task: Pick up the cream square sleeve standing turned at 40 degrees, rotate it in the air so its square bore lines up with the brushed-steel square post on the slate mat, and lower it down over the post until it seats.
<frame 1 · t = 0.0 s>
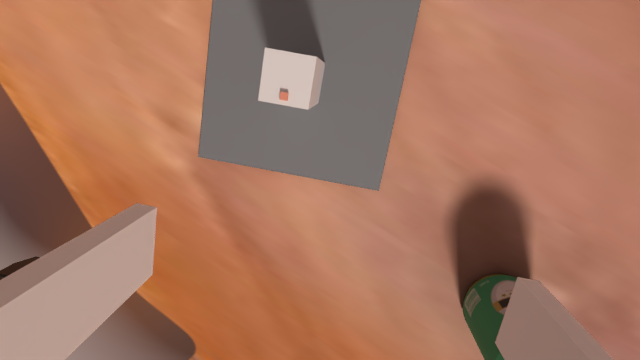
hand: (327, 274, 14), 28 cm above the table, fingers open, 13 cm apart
beverage can: (495, 301, 44), on the table
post: (303, 80, 39), on the table
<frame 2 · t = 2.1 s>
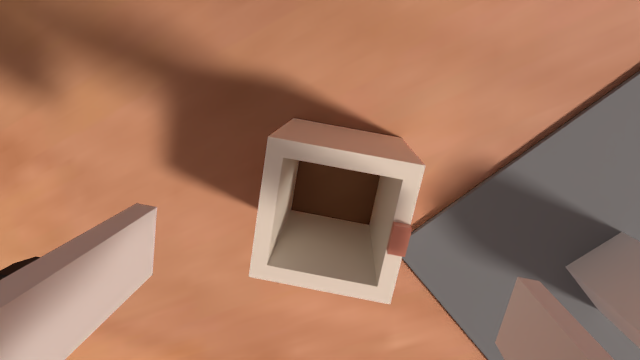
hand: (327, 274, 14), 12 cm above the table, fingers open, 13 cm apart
cream square sleeve: (337, 179, 25), on the table
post: (605, 268, 26), on the table
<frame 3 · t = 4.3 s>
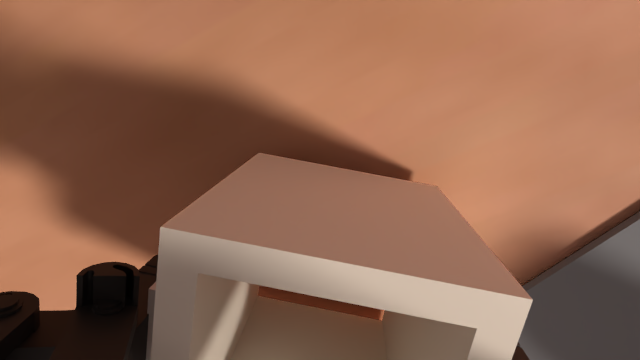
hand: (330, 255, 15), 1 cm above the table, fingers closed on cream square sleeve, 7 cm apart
cream square sleeve: (331, 251, 16), point 1 cm above the table, touching gripper
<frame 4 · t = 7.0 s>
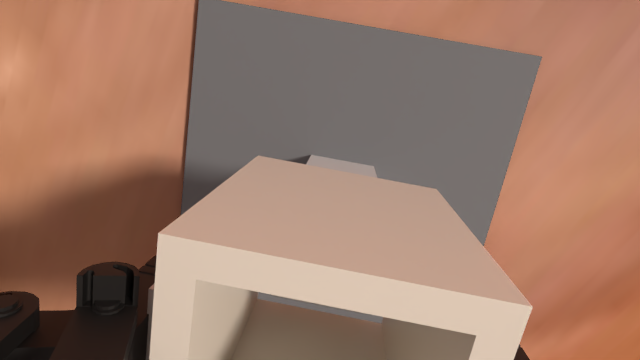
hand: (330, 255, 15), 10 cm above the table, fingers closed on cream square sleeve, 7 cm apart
cream square sleeve: (330, 254, 16), point 10 cm above the table, touching gripper
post: (336, 188, 25), on the table
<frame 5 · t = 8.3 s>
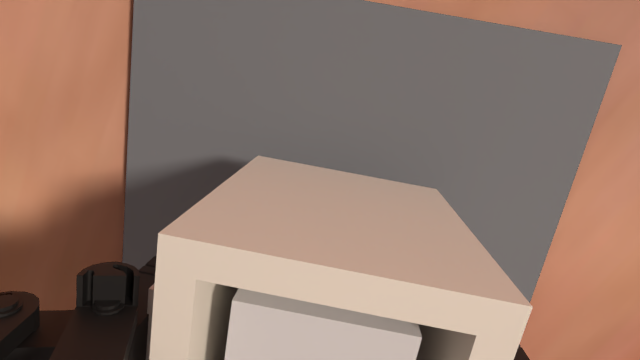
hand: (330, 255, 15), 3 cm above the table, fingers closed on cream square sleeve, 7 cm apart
cream square sleeve: (330, 254, 16), point 3 cm above the table, touching gripper
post: (331, 225, 18), on the table
when the fingers open (2 cm above the table, at t = 9.5 s): cream square sleeve drops 1 cm, resting on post.
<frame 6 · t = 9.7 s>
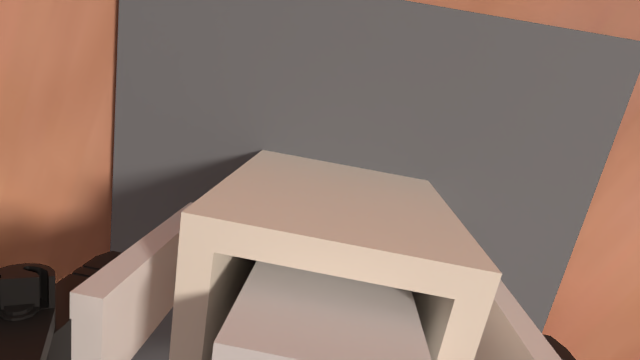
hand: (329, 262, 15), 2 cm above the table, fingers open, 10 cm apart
cream square sleeve: (329, 241, 17), resting on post
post: (332, 237, 17), on the table
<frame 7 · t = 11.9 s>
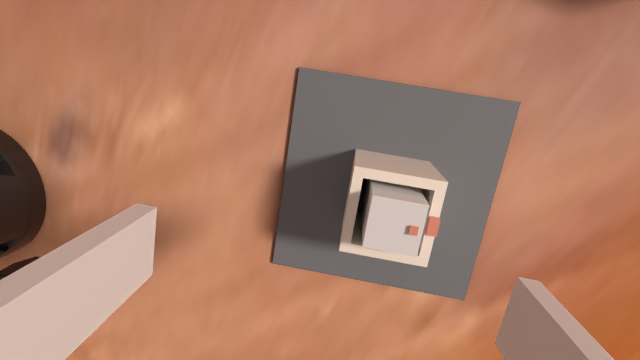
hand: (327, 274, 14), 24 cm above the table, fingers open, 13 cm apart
cream square sleeve: (385, 190, 37), resting on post
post: (385, 188, 37), on the table
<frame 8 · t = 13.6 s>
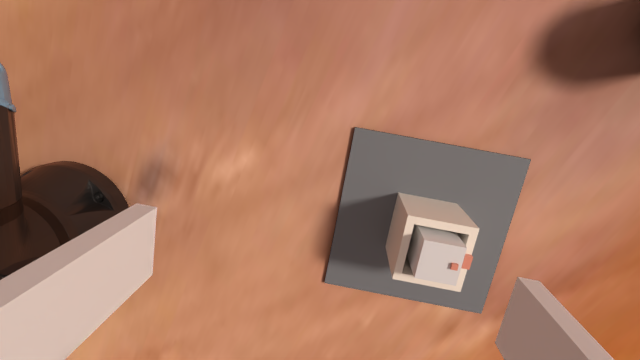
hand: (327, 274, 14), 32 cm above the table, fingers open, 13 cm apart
cream square sleeve: (420, 225, 46), resting on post
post: (420, 223, 46), on the table
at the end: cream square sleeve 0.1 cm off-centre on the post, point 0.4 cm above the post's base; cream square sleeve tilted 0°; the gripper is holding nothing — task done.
